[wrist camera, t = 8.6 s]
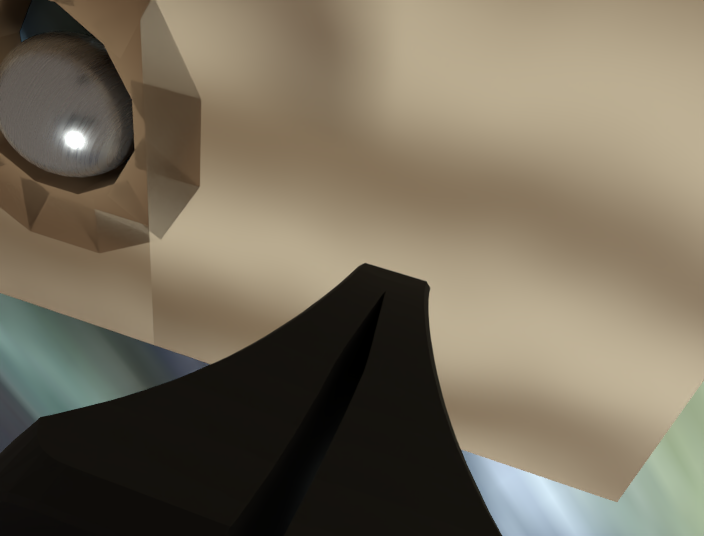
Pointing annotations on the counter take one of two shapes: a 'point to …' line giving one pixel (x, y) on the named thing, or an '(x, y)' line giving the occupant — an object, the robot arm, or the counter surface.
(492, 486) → the counter surface
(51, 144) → the ball
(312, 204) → the deck
